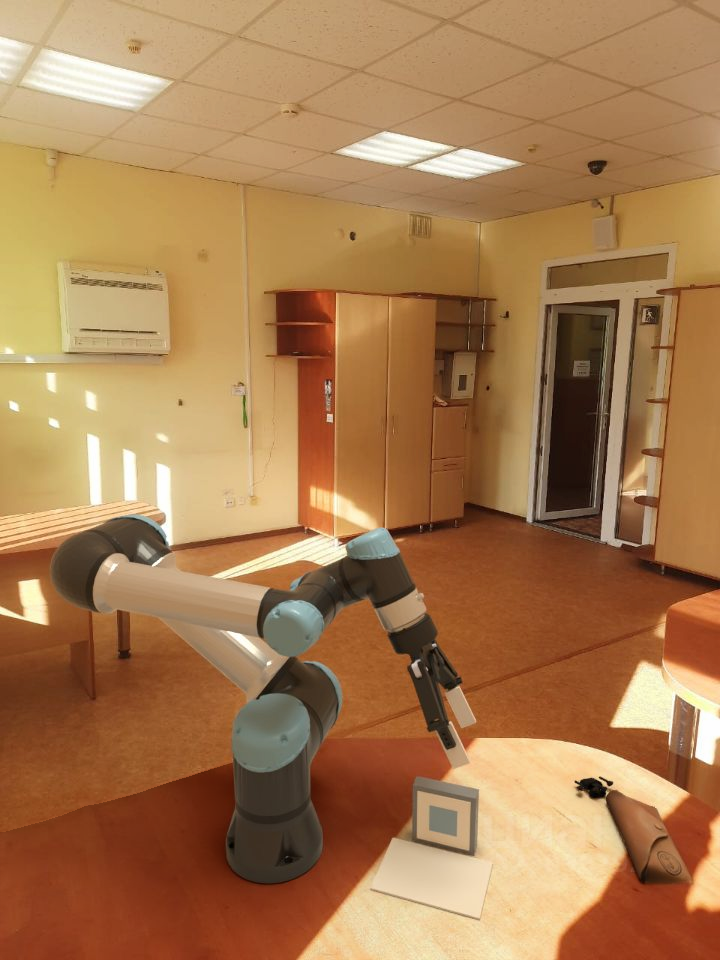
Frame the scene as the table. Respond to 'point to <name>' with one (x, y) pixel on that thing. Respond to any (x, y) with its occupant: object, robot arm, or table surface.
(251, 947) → the table surface
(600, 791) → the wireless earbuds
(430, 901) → the felt mat
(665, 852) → the sunglasses case
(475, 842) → the slate tile
